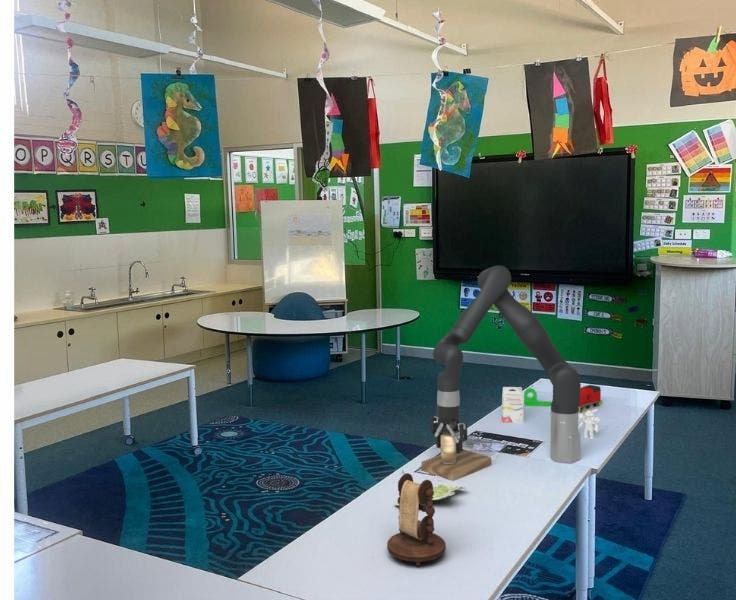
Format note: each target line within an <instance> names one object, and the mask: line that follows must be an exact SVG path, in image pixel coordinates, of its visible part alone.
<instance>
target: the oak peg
mask: <svg viewBox="0 0 736 600" xmlns="http://www.w3.org/2000/svg"><path fill="white" fill-rule="evenodd" d="M440 455H441V463H442V464H445V465H449V466H450V465H454V464H456V463H457V460H456V441H455V439H454V437H452V435H451V434H448V433H443V434H442V435H441V448H440Z"/></svg>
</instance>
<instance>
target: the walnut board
mask: <svg viewBox="0 0 736 600" xmlns="http://www.w3.org/2000/svg"><path fill="white" fill-rule="evenodd" d="M456 460H457V463H456V464H454V465H450V466H449V465H445V464H442V463H441V454H440V455H436V456H433V457H431V458H427V459H426V460H425V459H424V460H423V461H421V465H420V467H421V471H422V472H425V473H429V474H432V475H434V476H437V477H440V478H442V479H446V480H449V481H451V482H453V481H456V480H460V479H461V478H465V477H467V476H469V475H471V474H474V473H476V472H479V471H481V470H484V469H487V468H489V467H491V466H492V457H491V456H488V455H484V454H481V453H477V452H475V451H472V450H467V449H464V448H463V450H462V452H461V453H459V454H457V453H456Z"/></svg>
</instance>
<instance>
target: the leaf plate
mask: <svg viewBox="0 0 736 600" xmlns="http://www.w3.org/2000/svg"><path fill="white" fill-rule="evenodd" d="M459 489H463V490H464V489H466V486H465V485H463V486H461V487H460V486H453V487H452V486H447V485H445V484H444V483H440V484H438V486H433V491H434V495H433V496H432V497H433V499H432V501H439V500H444V499H447V498H449V497H451V496H455V495H456V492H455V491H457V490H459ZM393 505H394V506H398V507H400V506H399V504H398V502H395V503H394V504H393Z"/></svg>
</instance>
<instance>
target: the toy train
mask: <svg viewBox="0 0 736 600" xmlns="http://www.w3.org/2000/svg"><path fill="white" fill-rule="evenodd" d="M601 390H602V389H601V387H600V386H598V385H593V384H589V385H588V384H587V385H585V386H582V387H581V388H580V404H579V407H578V414H583V411H588V410H590V409H593V408H594V407H595V408H596V407H599V406H600V407H601V406H602V403H603V402H602V401H603V400H602V399H601V395H602V394H601V393H602V391H601Z"/></svg>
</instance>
